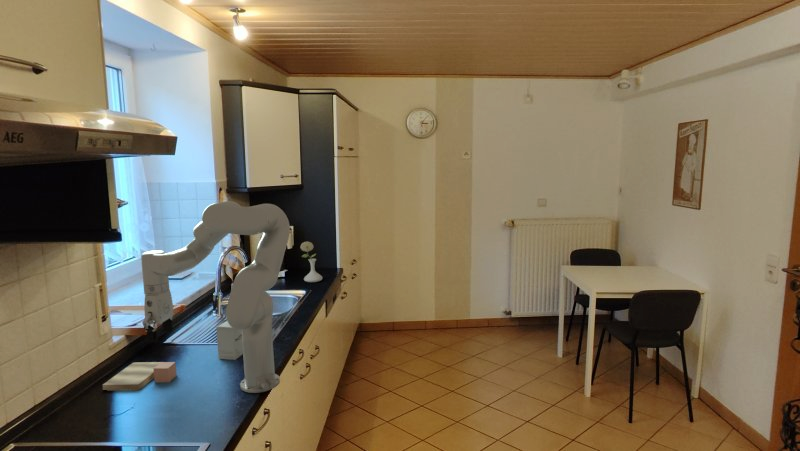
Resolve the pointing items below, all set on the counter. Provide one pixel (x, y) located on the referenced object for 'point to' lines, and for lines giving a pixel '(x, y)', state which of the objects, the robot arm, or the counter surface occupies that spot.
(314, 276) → the flower in vase
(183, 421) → the counter surface
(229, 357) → the supplement box
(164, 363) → the terracotta cube
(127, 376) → the chopping board
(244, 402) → the counter surface
